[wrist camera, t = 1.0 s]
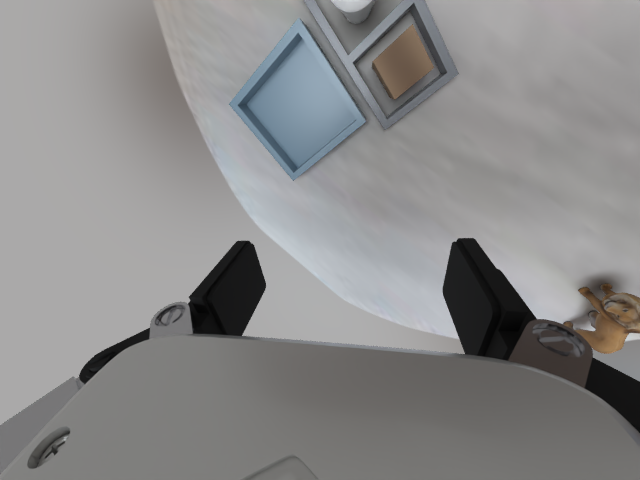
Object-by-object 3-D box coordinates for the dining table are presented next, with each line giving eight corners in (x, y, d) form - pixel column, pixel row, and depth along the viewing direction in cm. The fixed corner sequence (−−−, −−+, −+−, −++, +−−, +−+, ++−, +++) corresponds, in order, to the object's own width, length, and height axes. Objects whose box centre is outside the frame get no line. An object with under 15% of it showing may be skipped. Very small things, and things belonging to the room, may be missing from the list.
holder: (369, -98, 21) (370, -118, 19) (451, 75, 26) (458, 73, 24) (300, -7, 25) (294, -16, 23) (383, 127, 30) (384, 130, 28)
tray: (305, 24, 26) (298, 17, 24) (366, 118, 30) (365, 121, 28) (239, 103, 32) (228, 104, 29) (298, 174, 35) (293, 180, 33)
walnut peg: (403, 37, 25) (412, 24, 20) (421, 72, 27) (434, 67, 22) (371, 66, 27) (372, 61, 22) (390, 98, 28) (394, 99, 23)
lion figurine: (572, 271, 36) (625, 318, 29) (618, 265, 35) (687, 313, 27) (560, 332, 43) (600, 383, 36) (598, 329, 41) (648, 383, 34)
